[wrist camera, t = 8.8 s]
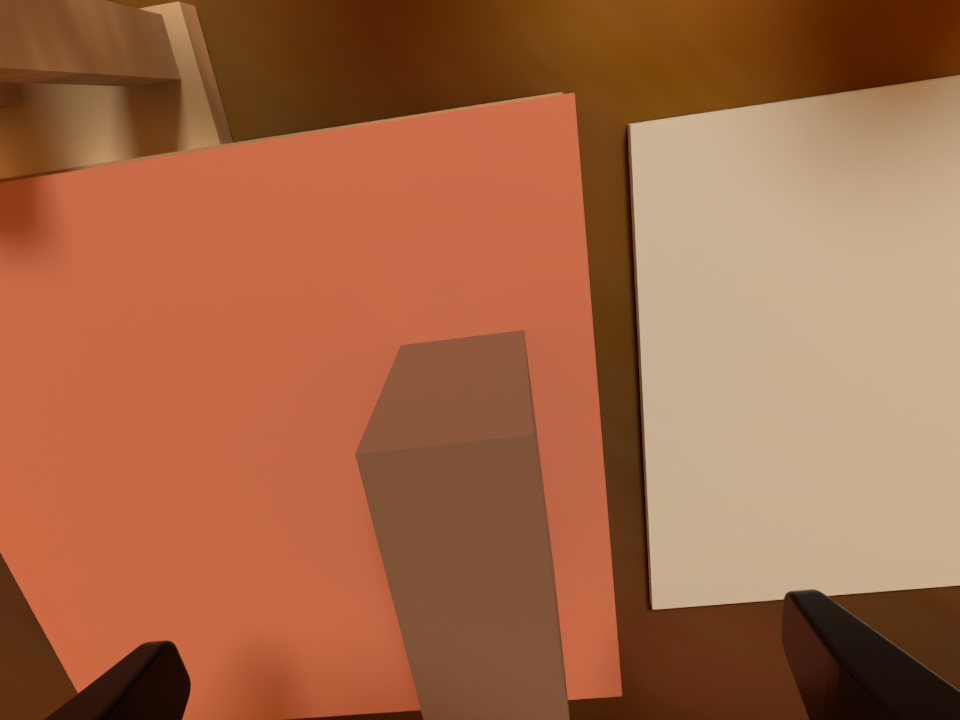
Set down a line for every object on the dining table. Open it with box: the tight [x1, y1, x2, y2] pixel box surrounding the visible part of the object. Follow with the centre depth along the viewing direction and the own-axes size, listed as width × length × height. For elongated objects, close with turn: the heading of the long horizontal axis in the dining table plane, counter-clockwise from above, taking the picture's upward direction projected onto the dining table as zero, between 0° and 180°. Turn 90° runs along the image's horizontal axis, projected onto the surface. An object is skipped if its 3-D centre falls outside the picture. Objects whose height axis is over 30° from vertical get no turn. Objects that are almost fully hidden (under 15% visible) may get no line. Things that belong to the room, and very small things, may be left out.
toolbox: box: [0, 0, 563, 182], centre depth 14 cm, size 17×15×9 cm
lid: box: [0, 93, 622, 720], centre depth 12 cm, size 14×14×5 cm
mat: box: [627, 75, 960, 610], centre depth 18 cm, size 16×16×1 cm
